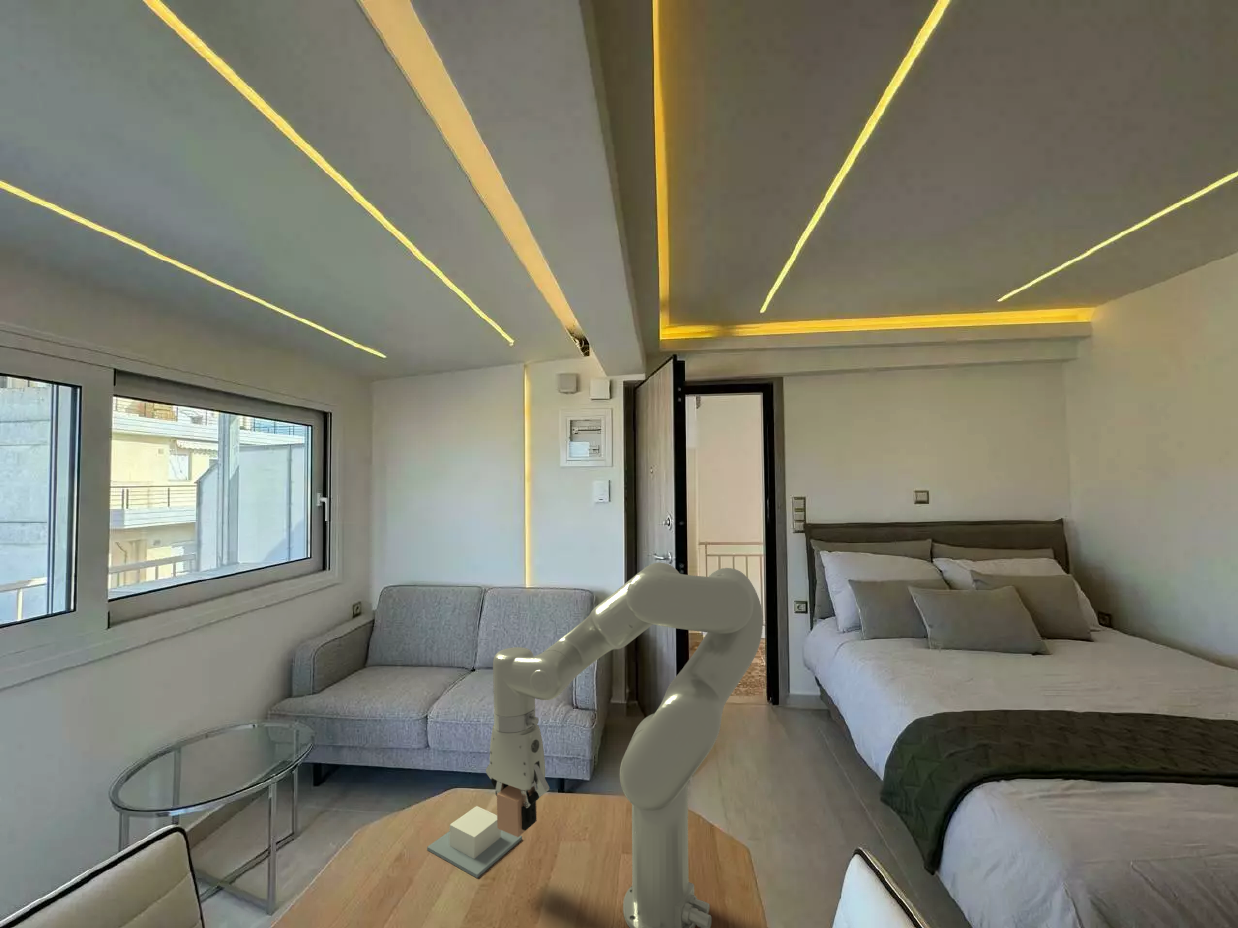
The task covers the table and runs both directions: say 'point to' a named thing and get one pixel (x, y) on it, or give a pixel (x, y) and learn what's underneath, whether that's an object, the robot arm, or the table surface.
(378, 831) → the table surface
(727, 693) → the robot arm
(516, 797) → the terracotta block
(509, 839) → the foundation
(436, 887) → the table surface
